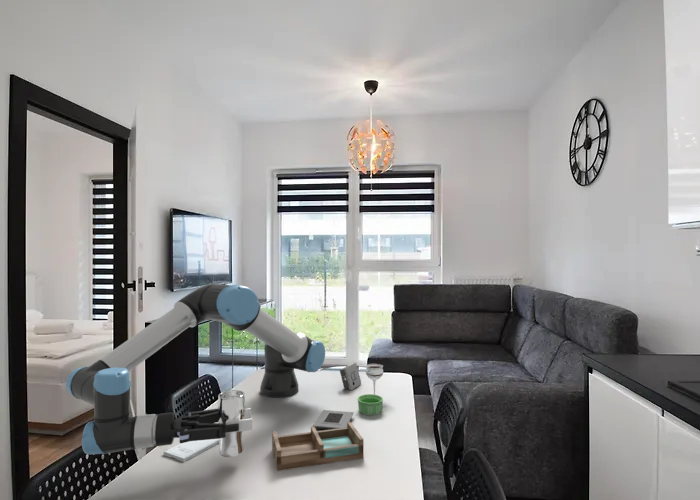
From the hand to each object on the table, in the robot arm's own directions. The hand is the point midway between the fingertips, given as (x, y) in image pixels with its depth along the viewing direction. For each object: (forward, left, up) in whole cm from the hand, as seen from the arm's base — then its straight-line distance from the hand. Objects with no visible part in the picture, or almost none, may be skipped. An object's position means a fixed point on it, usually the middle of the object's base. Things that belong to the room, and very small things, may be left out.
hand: (251, 418), depth 108 cm
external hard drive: (-12, -16, -12) cm, 23 cm away
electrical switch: (-51, +43, -12) cm, 68 cm away
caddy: (+1, +18, -11) cm, 21 cm away
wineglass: (-36, +48, -11) cm, 61 cm away
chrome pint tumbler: (0, -5, -8) cm, 10 cm away
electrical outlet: (-17, +27, -12) cm, 34 cm away
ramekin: (-24, +42, -12) cm, 50 cm away
